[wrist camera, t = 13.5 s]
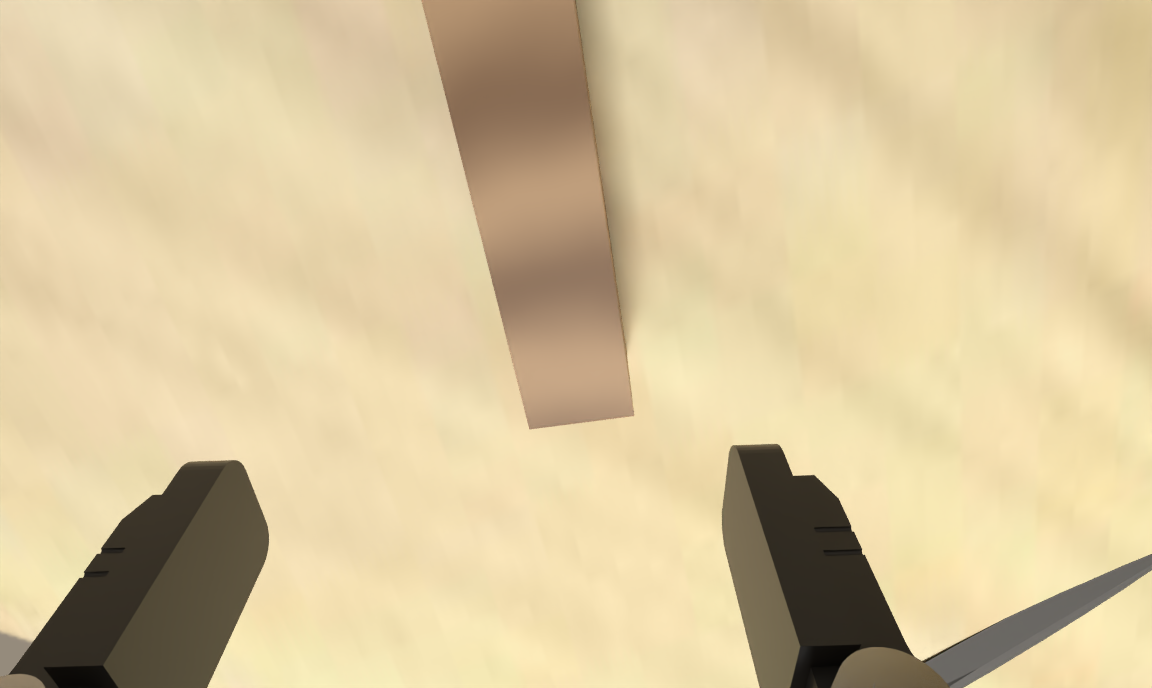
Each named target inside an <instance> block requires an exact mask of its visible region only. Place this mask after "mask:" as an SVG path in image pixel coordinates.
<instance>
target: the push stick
mask: <svg viewBox="0 0 1152 688" xmlns="http://www.w3.org/2000/svg"><path fill="white" fill-rule="evenodd" d="M422 4H423V8H424V12H425V16H426V20H427V24H428V28H429V32H430V36H431V40H432V44H433V48H434V52H435V56H436V60H437V64H438V68H439V72H440V75H441V79H442V83H443V87H444V91H445V95H446V99H447V103H448V107H449V111H450V115H451V119H452V123H453V127H454V131H455V135H456V139H457V143H458V147H459V151H460V155H461V159H462V163H463V167H464V171H465V175H466V179H467V183H468V187H469V191H470V195H471V199H472V203H473V207H474V211H475V215H476V219H477V223H478V227H479V231H480V235H481V238H482V242H483V246H484V250H485V254H486V258H487V262H488V266H489V270H490V274H491V278H492V282H493V286H494V290H495V294H496V298H497V302H498V306H499V310H500V314H501V318H502V322H503V326H504V330H505V334H506V338H507V342H508V346H509V350H510V354H511V358H512V362H513V366H514V370H515V374H516V378H517V382H518V386H519V390H520V394H521V398H522V401H523V405H524V409H525V413H526V417H527V421H528V425H529V429H536V428H543V427H551V426H559V425H567V424H575V423H582V422H590V421H598V420H606V419H614V418H621V417H629V416H634V410H633V402H632V394H631V385H630V377H629V369H628V361H627V353H626V346H625V339H624V332H623V325H622V318H621V311H620V305H619V298H618V291H617V284H616V277H615V270H614V263H613V256H612V249H611V242H610V235H609V228H608V222H607V215H606V208H605V201H604V194H603V187H602V180H601V173H600V166H599V159H598V152H597V146H596V139H595V132H594V125H593V118H592V111H591V104H590V97H589V90H588V83H587V76H586V70H585V63H584V56H583V49H582V42H581V35H580V28H579V21H578V14H577V7H576V0H422Z"/></svg>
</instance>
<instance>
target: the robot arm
mask: <svg viewBox="0 0 1152 688" xmlns="http://www.w3.org/2000/svg"><path fill="white" fill-rule="evenodd" d="M722 531H723V540H724V546H725V551H726V555H727V559H728V563H729V567H730V571H731V575H732V579H733V583H734V587H735V591H736V595H737V599H738V603H739V607H740V611H741V615H742V619H743V623H744V627H745V631H746V635H747V639H748V643H749V647H750V650H751V654H752V658H753V662H754V666H755V670H756V674H757V678H758V682H759V686H760V688H950V687H949V686H948V684H947V683H946V682H945V681H944V680H943V678H942V677H941V676H940V675H939V674H938V673H937V672H935V671H934V670H933V669H932V668H931V667H929V666H928V665H927V664H925V663H924V662H922V661H921V660H919V659H917V658H916V657H914V655H913V654H912V653H911V651H910V650H909V648H908V646H907V644H906V642H905V640H904V638H903V636H902V634H901V632H900V630H899V627H898V625H897V623H896V621H895V619H894V617H893V615H892V612H891V610H890V608H889V606H888V604H887V602H886V600H885V597H884V595H883V593H882V591H881V589H880V587H879V585H878V582H877V580H876V578H875V576H874V574H873V572H872V570H871V567H870V565H869V563H868V561H867V559H866V557H865V555H863V554H862V548H861V546H860V544H859V542H858V540H857V537H856V535H855V533H854V532H852V530H851V525H850V522H849V520H848V518H847V516H846V514H845V512H844V509H843V507H842V505H841V503H840V501H839V499H838V498H837V497H836V496H835V495H834V494H833V493H832V492H831V491H830V490H829V489H828V488H827V487H826V486H825V485H824V484H823V483H822V482H821V481H820V480H819V479H818V478H817V477H816V476H815V475H806V476H793V475H792V472H791V470H790V467H789V465H788V462H787V460H786V457H785V455H784V452H783V450H782V448H781V447H780V446H779V445H778V444H763V445H733V446H732V447H731V449H730V452H729V459H728V467H727V475H726V484H725V492H724V500H723V509H722ZM268 545H269V533H268V526H267V523H266V520H265V518H264V515H263V513H262V510H261V508H260V505H259V503H258V500H257V498H256V495H255V493H254V490H253V487H252V485H251V482H250V480H249V477H248V475H247V472H246V470H245V468H244V466H243V465H242V463H240V462H239V461H236V460H229V461H198V462H188V463H186V464H184V465H183V466H182V467H181V468H180V470H179V471H178V472H177V474H176V475H175V477H174V478H173V480H172V481H171V483H170V484H169V485H168V487H167V488H166V490H165V491H164V493H163V494H162V495H152V496H151V497H150V498H148V499H147V500H146V501H145V502H143V503H142V504H141V505H140V506H138V507H137V508H136V509H135V510H134V511H132V512H131V513H130V514H129V515H127V516H126V517H125V518H124V519H122V520H121V522H120V523H119V525H118V526H117V527H116V529H115V530H114V531H113V533H112V534H111V536H110V537H109V538H108V540H107V541H106V542H105V544H104V545H103V547H102V548H101V549H102V551H101V554H97V555H96V556H95V558H94V559H93V560H92V562H91V563H90V564H89V566H88V567H87V569H86V570H85V571H84V573H85V574H84V577H83V578H79V580H78V581H77V582H76V584H75V585H74V586H73V588H72V589H71V591H70V592H69V593H68V595H67V596H66V597H65V599H64V600H63V602H62V603H61V604H60V606H59V607H58V608H57V610H56V611H55V613H54V614H53V615H52V617H51V618H50V619H49V621H48V622H47V624H46V625H45V626H44V628H43V629H42V630H41V632H40V633H39V635H38V636H37V637H36V639H35V640H34V641H33V643H32V644H31V646H30V647H29V648H28V650H27V651H26V652H25V654H24V655H23V657H22V658H21V659H20V661H19V662H18V663H17V665H16V666H15V667H14V669H13V670H12V671H11V672H10V674H9V675H6V676H1V677H0V688H207V687H208V684H209V682H210V680H211V678H212V676H213V674H214V671H215V669H216V667H217V665H218V663H219V661H220V658H221V656H222V654H223V652H224V650H225V647H226V645H227V643H228V641H229V639H230V637H231V634H232V632H233V630H234V628H235V626H236V624H237V621H238V619H239V617H240V615H241V613H242V611H243V608H244V606H245V604H246V602H247V600H248V598H249V595H250V593H251V591H252V589H253V587H254V585H255V582H256V580H257V578H258V576H259V574H260V572H261V569H262V567H263V565H264V562H265V560H266V556H267V552H268Z"/></svg>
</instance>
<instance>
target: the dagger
mask: <svg viewBox="0 0 1152 688" xmlns="http://www.w3.org/2000/svg"><path fill="white" fill-rule="evenodd" d="M1151 570H1152V554H1150V555H1148V556H1146V557H1143V558H1141V559H1138V560H1136V561H1133V562H1131V563H1129V564H1126V565H1124V566H1121V567H1119V568H1117V569H1115V570H1112V571H1110V572H1108V573H1105V574H1103V575H1101V576H1099V577H1096V578H1094V579H1092V580H1090V581H1087V582H1085V583H1083V584H1080V585H1078V586H1076V587H1073V588H1071V589H1069V590H1066V591H1064V592H1062V593H1060V594H1057V595H1055V596H1053V597H1051V598H1049V599H1047V600H1044V601H1042V602H1040V603H1038V604H1036V605H1033V606H1031V607H1029V608H1027V609H1025V610H1023V611H1020V612H1018V613H1016V614H1014V615H1012V616H1010V617H1007V618H1005V619H1003V620H1002V621H1000V622H998V623H996V624H994V625H992V626H991V627H989V628H987V629H985V630H983V631H981V632H979V633H978V634H976V635H974V636H972V637H970V638H968V639H967V640H965V641H963V642H961V643H959V644H957V645H956V646H954V647H952V648H950V649H948V650H947V651H945V652H943V653H941V654H939V655H938V656H936V657H934V658H932V659H931V660H929V661H927V662H925V664H927V665H928V666H929V667H931V668H932V669H933V670H934V671H935V672H937V673H938V674H939V675H940V676H941V677H942V678H943V680H944V681H945V682H946V683H947V684H948V686H949V687H950V688H964V687H965V686H967V685H969V684H970V683H972V682H974V681H976V680H977V679H979V678H981V677H983V676H984V675H986V674H988V673H989V672H991V671H993V670H995V669H996V668H998V667H999V666H1001V665H1003V664H1004V663H1006V662H1008V661H1009V660H1011V659H1013V658H1014V657H1016V656H1018V655H1019V654H1021V653H1023V652H1024V651H1026V650H1028V649H1029V648H1031V647H1033V646H1034V645H1036V644H1038V643H1039V642H1041V641H1043V640H1044V639H1046V638H1047V637H1049V636H1051V635H1052V634H1054V633H1056V632H1057V631H1059V630H1060V629H1062V628H1064V627H1065V626H1067V625H1068V624H1070V623H1072V622H1073V621H1075V620H1076V619H1078V618H1080V617H1081V616H1083V615H1084V614H1086V613H1087V612H1089V611H1091V610H1092V609H1094V608H1095V607H1097V606H1098V605H1100V604H1101V603H1103V602H1104V601H1106V600H1108V599H1109V598H1111V597H1112V596H1114V595H1115V594H1117V593H1118V592H1120V591H1122V590H1123V589H1125V588H1126V587H1128V586H1129V585H1130V584H1132V583H1133V582H1135V581H1136V580H1138V579H1139V578H1141V577H1142V576H1144V575H1145V574H1147V573H1148V572H1150V571H1151Z"/></svg>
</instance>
